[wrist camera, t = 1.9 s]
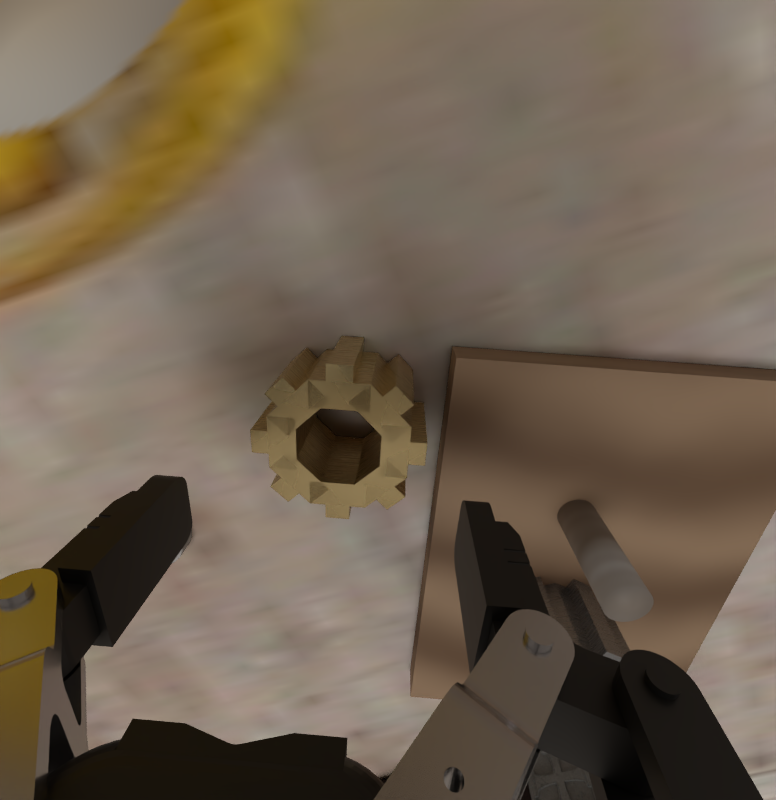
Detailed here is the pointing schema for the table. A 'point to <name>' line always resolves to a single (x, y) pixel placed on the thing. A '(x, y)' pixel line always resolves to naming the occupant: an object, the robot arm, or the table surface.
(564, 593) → the steel gear
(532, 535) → the gear board
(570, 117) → the table surface
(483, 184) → the table surface
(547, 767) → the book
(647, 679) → the robot arm
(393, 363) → the brass gear
